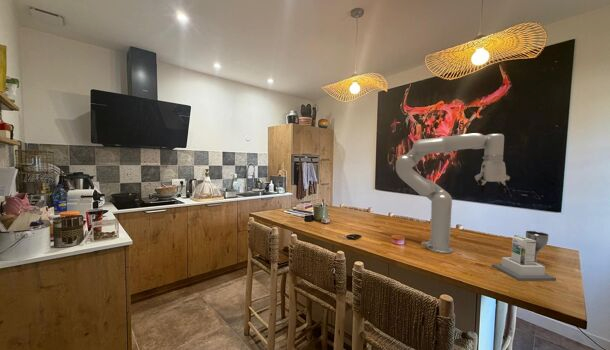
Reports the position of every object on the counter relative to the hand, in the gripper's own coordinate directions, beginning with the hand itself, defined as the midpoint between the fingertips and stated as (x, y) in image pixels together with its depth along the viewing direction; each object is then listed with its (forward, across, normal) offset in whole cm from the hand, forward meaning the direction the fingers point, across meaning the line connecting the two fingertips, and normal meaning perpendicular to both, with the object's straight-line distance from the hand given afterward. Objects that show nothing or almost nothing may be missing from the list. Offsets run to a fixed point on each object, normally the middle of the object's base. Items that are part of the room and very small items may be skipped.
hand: (491, 192), depth 124 cm
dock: (+33, +2, -17) cm, 37 cm away
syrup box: (+32, +2, -17) cm, 37 cm away
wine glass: (+34, +18, -7) cm, 39 cm away
